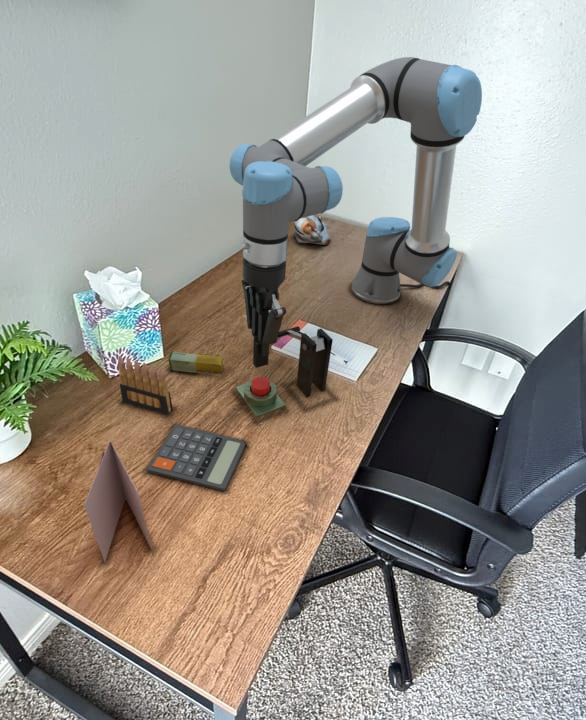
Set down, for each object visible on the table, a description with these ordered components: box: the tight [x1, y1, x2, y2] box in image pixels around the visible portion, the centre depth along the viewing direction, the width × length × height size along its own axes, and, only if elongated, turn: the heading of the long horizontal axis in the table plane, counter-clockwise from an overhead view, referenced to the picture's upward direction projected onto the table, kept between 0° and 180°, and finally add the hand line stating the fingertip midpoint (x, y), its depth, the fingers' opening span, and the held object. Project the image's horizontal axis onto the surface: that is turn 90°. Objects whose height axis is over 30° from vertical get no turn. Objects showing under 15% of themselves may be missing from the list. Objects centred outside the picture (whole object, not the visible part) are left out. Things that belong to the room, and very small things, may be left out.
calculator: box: [146, 424, 247, 492], centre depth 88 cm, size 12×1×15 cm
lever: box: [278, 325, 325, 352], centre depth 102 cm, size 14×6×2 cm, turn 33°
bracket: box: [296, 328, 334, 398], centre depth 101 cm, size 9×8×16 cm
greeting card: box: [83, 440, 153, 562], centre depth 71 cm, size 11×7×15 cm, turn 3°
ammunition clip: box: [117, 355, 174, 416], centre depth 94 cm, size 11×2×12 cm, turn 75°
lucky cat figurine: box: [293, 215, 332, 246], centre depth 165 cm, size 15×12×14 cm
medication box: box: [168, 351, 224, 374], centre depth 106 cm, size 12×3×4 cm, turn 87°
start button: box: [251, 376, 271, 396], centre depth 99 cm, size 4×4×2 cm
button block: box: [235, 379, 287, 418], centre depth 100 cm, size 10×7×4 cm
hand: (260, 364), depth 95 cm, fingers closed
